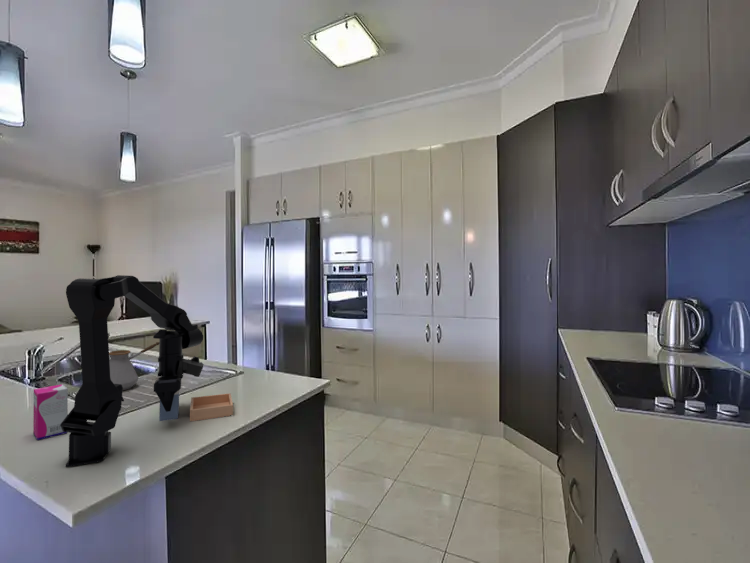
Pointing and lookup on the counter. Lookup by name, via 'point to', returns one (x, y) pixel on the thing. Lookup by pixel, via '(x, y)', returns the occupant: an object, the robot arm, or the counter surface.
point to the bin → (211, 407)
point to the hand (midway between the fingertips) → (169, 406)
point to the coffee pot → (124, 367)
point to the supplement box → (49, 411)
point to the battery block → (174, 409)
